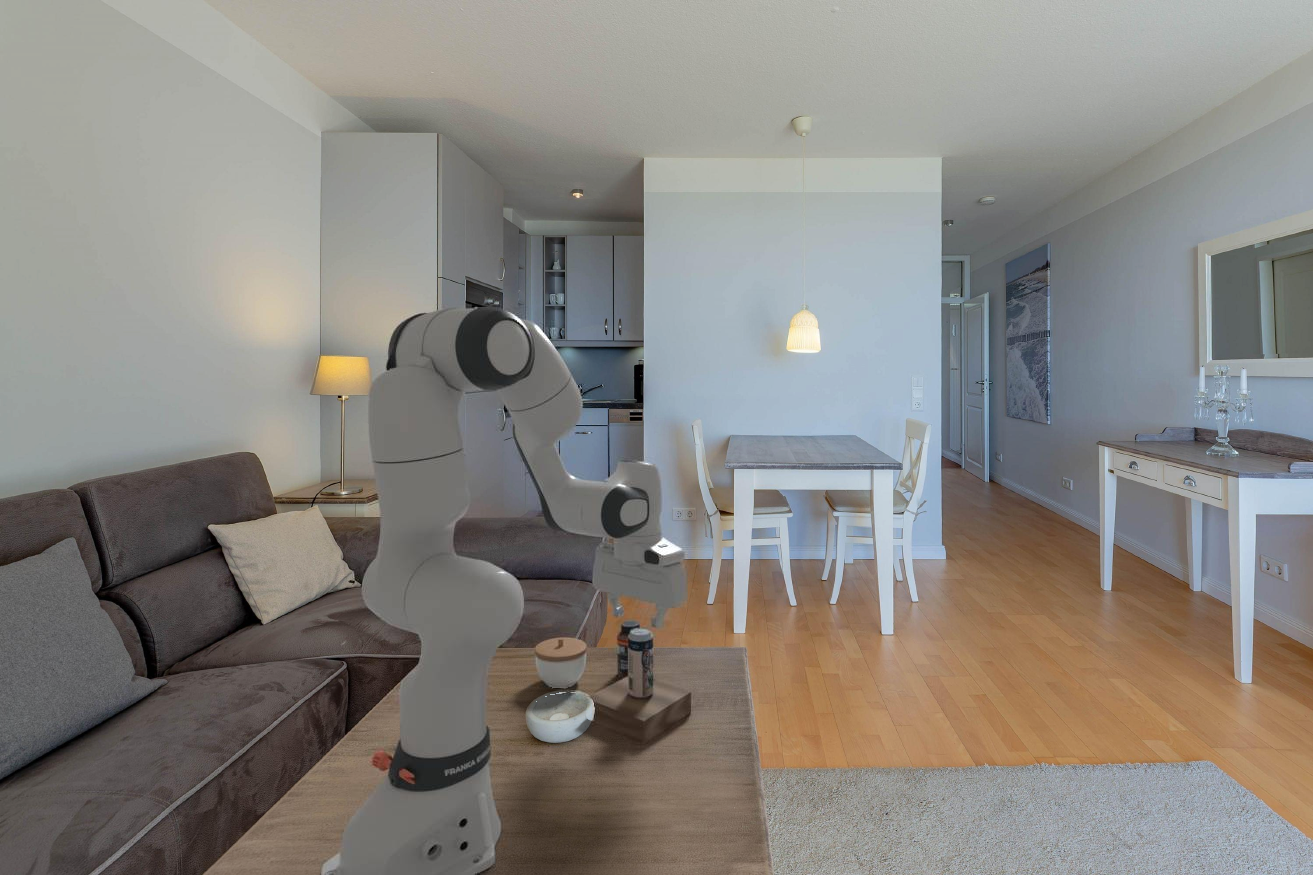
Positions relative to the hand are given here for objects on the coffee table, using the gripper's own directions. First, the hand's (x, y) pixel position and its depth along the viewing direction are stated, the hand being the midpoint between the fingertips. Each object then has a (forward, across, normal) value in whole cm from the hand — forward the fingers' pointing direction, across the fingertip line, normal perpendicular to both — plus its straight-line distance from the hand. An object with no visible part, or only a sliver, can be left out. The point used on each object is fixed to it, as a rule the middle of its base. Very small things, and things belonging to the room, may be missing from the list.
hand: (637, 621), depth 121 cm
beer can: (+14, 0, +1) cm, 14 cm away
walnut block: (+18, 0, +1) cm, 18 cm away
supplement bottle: (+18, -13, +14) cm, 26 cm away
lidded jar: (+18, -22, +2) cm, 29 cm away
